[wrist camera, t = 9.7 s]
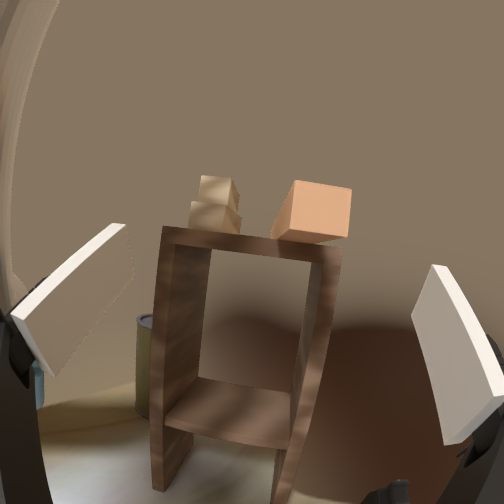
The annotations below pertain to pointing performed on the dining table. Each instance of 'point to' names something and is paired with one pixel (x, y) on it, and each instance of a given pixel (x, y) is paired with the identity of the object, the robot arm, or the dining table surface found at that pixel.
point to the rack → (189, 343)
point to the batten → (313, 214)
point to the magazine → (389, 494)
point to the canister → (143, 363)
